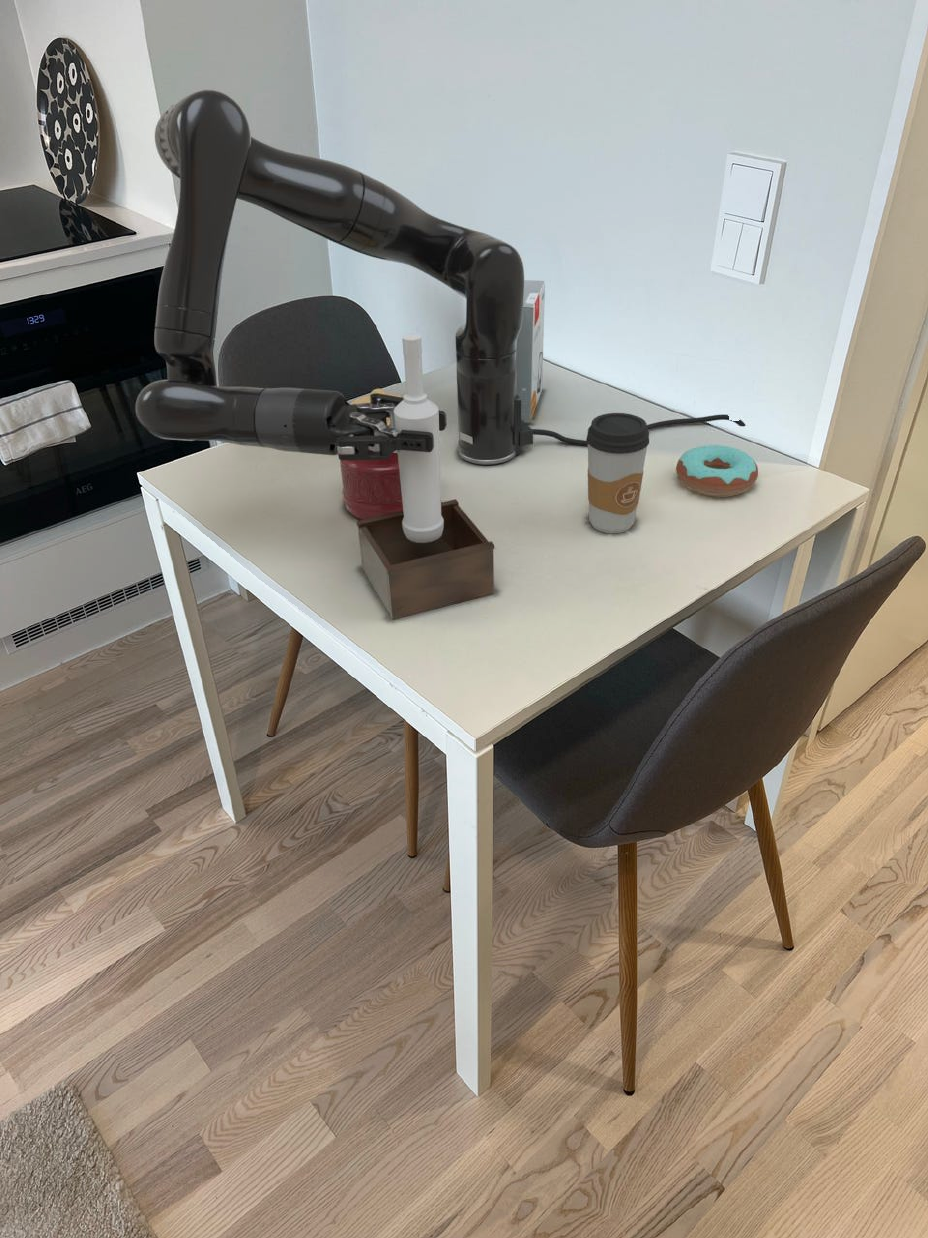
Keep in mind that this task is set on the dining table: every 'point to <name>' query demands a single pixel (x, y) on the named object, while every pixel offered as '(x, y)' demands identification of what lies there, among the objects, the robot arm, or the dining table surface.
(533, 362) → the hard drive box
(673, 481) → the dining table surface
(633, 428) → the coffee cup
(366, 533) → the crate
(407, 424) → the bottle
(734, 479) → the donut
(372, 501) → the kitchen canister
